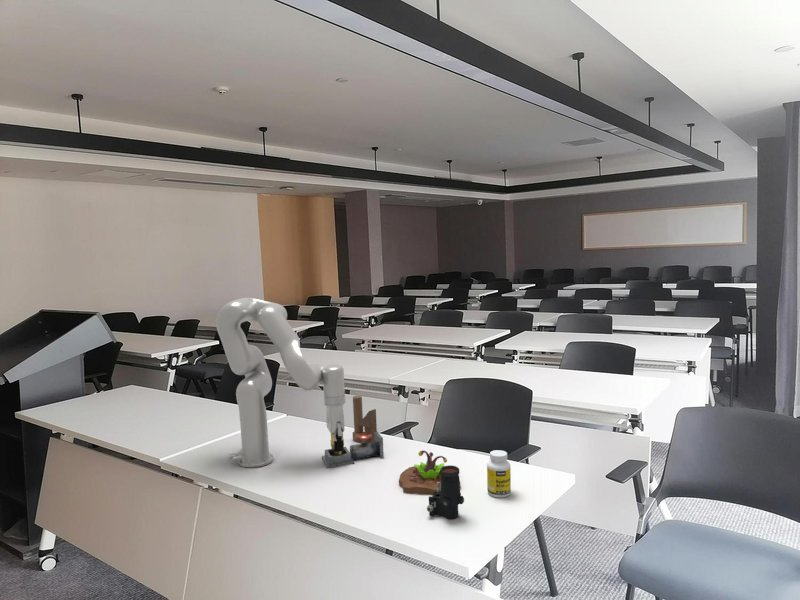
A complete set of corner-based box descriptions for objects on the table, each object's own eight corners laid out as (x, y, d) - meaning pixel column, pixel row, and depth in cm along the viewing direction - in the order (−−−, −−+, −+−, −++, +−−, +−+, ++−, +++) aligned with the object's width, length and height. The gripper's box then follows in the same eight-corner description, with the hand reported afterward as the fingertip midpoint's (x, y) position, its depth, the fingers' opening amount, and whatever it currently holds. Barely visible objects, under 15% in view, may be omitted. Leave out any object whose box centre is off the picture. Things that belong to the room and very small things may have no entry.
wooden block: (371, 446, 222) (368, 401, 220) (352, 440, 229) (350, 396, 227) (377, 444, 224) (375, 399, 223) (359, 438, 232) (357, 394, 230)
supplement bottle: (495, 500, 172) (494, 458, 171) (483, 491, 179) (482, 451, 178) (515, 495, 175) (514, 454, 174) (502, 486, 182) (501, 447, 180)
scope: (436, 460, 169) (468, 465, 164) (437, 505, 170) (469, 512, 166) (424, 471, 162) (457, 476, 157) (426, 518, 163) (458, 524, 159)
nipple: (332, 456, 205) (331, 434, 204) (330, 452, 210) (328, 430, 209) (345, 454, 207) (344, 432, 206) (343, 450, 211) (341, 428, 210)
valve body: (326, 468, 202) (325, 445, 201) (321, 458, 212) (320, 436, 211) (384, 459, 208) (383, 437, 208) (377, 450, 218) (376, 429, 217)
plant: (400, 472, 197) (398, 440, 196) (457, 470, 197) (455, 438, 196) (398, 497, 178) (396, 462, 176) (461, 495, 177) (460, 460, 176)
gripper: (320, 395, 213) (323, 442, 215) (328, 407, 197) (331, 458, 199) (340, 392, 215) (342, 439, 217) (350, 404, 199) (353, 455, 201)
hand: (337, 448), depth 208 cm, fingers closed on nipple, 4 cm apart
